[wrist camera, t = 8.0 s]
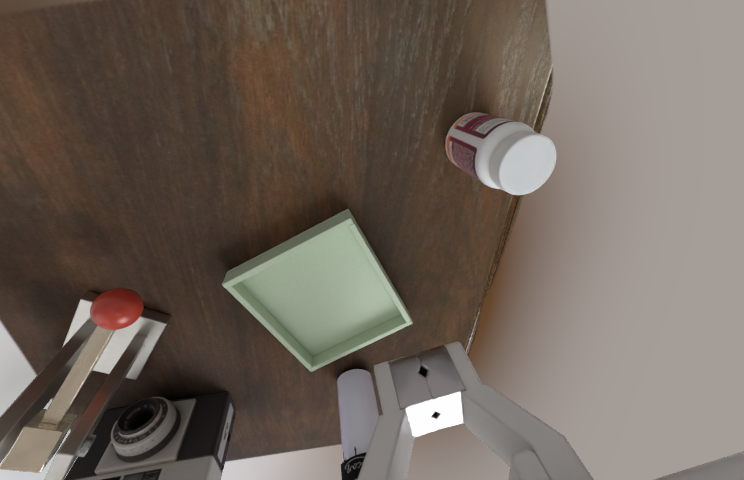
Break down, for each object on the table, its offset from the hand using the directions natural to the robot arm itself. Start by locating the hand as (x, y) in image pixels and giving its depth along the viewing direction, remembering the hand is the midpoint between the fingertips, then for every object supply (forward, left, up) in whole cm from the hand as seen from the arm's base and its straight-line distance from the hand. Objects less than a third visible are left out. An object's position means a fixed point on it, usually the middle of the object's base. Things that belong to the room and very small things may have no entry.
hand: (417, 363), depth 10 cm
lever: (+1, -25, -13) cm, 28 cm away
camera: (+14, -32, -19) cm, 40 cm away
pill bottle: (+2, +11, -19) cm, 22 cm away
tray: (+10, -8, -19) cm, 23 cm away
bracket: (+3, -28, -19) cm, 34 cm away
